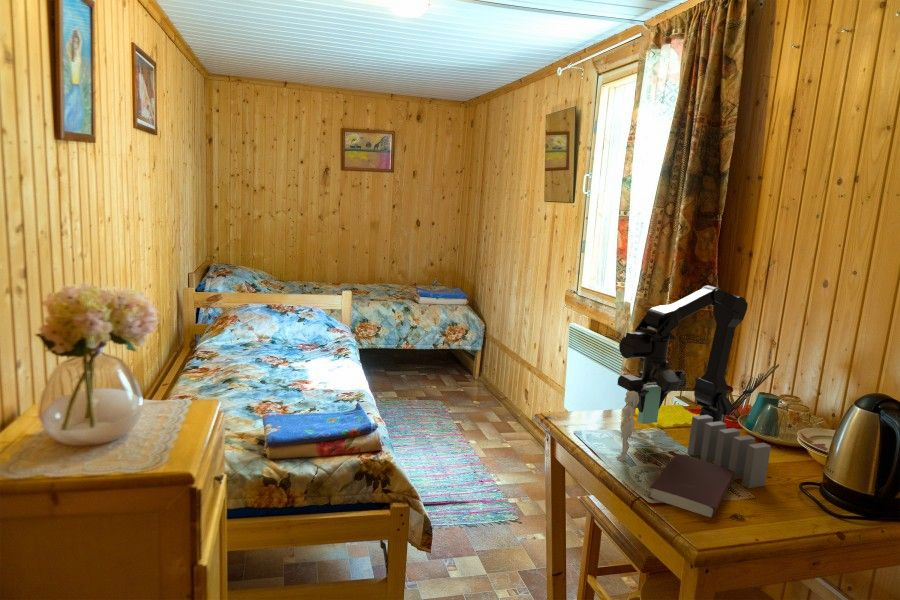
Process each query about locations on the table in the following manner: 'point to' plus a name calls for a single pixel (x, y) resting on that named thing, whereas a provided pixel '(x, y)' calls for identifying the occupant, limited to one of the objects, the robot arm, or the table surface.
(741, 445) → the domino
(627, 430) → the human figurine
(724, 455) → the domino
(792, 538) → the table surface
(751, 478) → the domino
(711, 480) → the book
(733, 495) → the table surface
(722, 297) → the robot arm
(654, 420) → the domino head
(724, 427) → the domino
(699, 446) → the domino
